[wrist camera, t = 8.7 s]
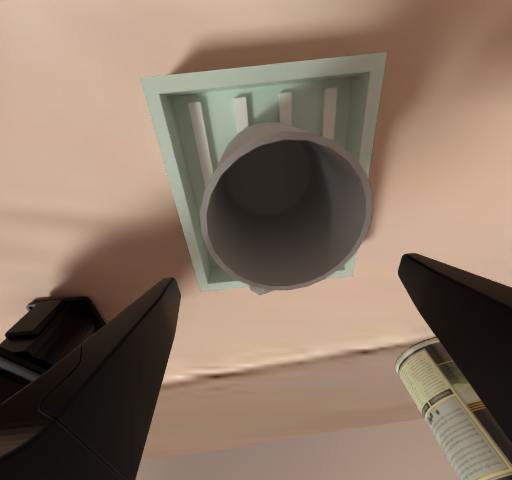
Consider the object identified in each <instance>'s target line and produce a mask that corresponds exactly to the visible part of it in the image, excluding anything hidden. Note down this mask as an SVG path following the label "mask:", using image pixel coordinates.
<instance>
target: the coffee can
mask: <svg viewBox="0 0 512 480" xmlns="http://www.w3.org/2000/svg"><path fill="white" fill-rule="evenodd" d="M395 368H396V372H397V374H398V375H399V376H400V378H401V379H402V381H403V383H404V384H405V386H406V388H407V390H408V391H409V393H410V395H411V396H412V398H413V400H414V402H415V403H416V405H417V407H418V408H419V410H420V412H421V414H422V415H423V417H424V419H425V421H426V422H427V424H428V426H429V427H430V429H431V431H432V433H433V434H434V436H435V438H436V439H437V441H438V443H439V445H440V446H441V448H442V450H443V451H444V453H445V455H446V457H447V458H448V460H449V462H450V463H451V465H452V467H453V469H454V470H455V472H456V474H457V475H458V477H459V479H460V480H512V444H511V442H510V441H509V440H508V438H507V437H506V435H505V434H504V432H503V431H502V430H501V428H500V427H499V425H498V424H497V423H496V421H495V420H494V418H493V417H492V415H491V414H490V413H489V411H488V410H487V408H486V407H485V405H484V404H483V403H482V401H481V400H480V398H479V397H478V395H477V394H476V393H475V391H474V390H473V388H472V387H471V385H470V384H469V383H468V381H467V380H466V378H465V377H464V375H463V374H462V373H461V371H460V370H459V368H458V367H457V366H456V364H455V363H454V361H453V360H452V358H451V357H450V356H449V354H448V353H447V351H446V350H445V348H444V347H443V346H442V344H441V343H440V341H439V340H438V338H432V339H428V340H425V341H423V342H420V343H418V344H416V345H414V346H412V347H411V348H409V349H408V350H406V351H405V352H404V353H403V354H402V355H401V356H400V357H399V358H398V360H397V363H396V366H395Z"/></svg>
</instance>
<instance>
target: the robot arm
mask: <svg viewBox="0 0 512 480" xmlns="http://www.w3.org/2000/svg"><path fill="white" fill-rule="evenodd" d="M398 275H399V278H400V280H401V281H402V283H403V285H404V287H405V288H406V290H407V292H408V294H409V296H410V297H411V299H412V301H413V303H414V305H415V306H416V308H417V310H418V311H419V313H420V314H421V316H422V317H423V319H424V320H425V321H426V323H427V324H428V326H429V327H430V328H431V330H432V331H433V333H434V334H435V336H436V337H437V338H438V340H439V341H440V343H441V344H442V346H443V347H444V348H445V350H446V351H447V353H448V354H449V356H450V357H451V358H452V360H453V361H454V363H455V364H456V366H457V367H458V368H459V370H460V371H461V373H462V374H463V375H464V377H465V378H466V380H467V381H468V383H469V384H470V385H471V387H472V388H473V390H474V391H475V393H476V394H477V395H478V397H479V398H480V400H481V401H482V403H483V404H484V405H485V407H486V408H487V410H488V411H489V413H490V414H491V415H492V417H493V418H494V420H495V421H496V423H497V424H498V425H499V427H500V428H501V430H502V431H503V432H504V434H505V435H506V437H507V438H508V440H509V441H510V442H511V444H512V287H509V286H506V285H503V284H500V283H498V282H495V281H492V280H489V279H486V278H484V277H481V276H478V275H475V274H473V273H470V272H467V271H464V270H461V269H459V268H456V267H453V266H450V265H447V264H445V263H442V262H439V261H436V260H433V259H431V258H428V257H425V256H422V255H419V254H417V253H409V254H404V255H403V256H402V258H401V262H400V266H399V269H398ZM180 300H181V294H180V291H179V288H178V285H177V282H176V280H175V278H173V277H172V278H164V279H162V280H161V281H160V282H158V283H157V284H156V285H155V286H153V287H152V288H151V289H150V290H148V291H147V292H146V293H145V294H143V295H142V296H141V297H140V298H138V299H137V300H136V301H135V302H133V303H132V304H131V305H130V306H128V307H127V308H126V309H125V310H123V311H122V312H121V313H120V314H118V315H117V316H116V317H115V318H113V319H112V320H111V321H110V322H108V323H107V324H106V325H105V323H104V321H103V320H102V318H101V317H100V315H99V313H98V312H97V310H96V308H95V307H94V305H93V304H92V302H91V300H90V299H89V298H87V297H78V298H68V299H58V300H48V301H38V302H31V303H29V304H28V305H27V306H26V308H27V309H28V311H29V312H28V313H27V314H26V315H25V316H24V317H22V318H21V319H20V320H19V321H18V322H17V323H16V324H15V325H14V326H13V327H12V328H11V329H10V330H8V331H7V332H6V334H5V337H6V339H5V340H4V341H3V342H2V343H1V344H0V480H135V479H136V476H137V472H138V468H139V464H140V461H141V457H142V454H143V450H144V446H145V443H146V439H147V435H148V432H149V428H150V424H151V421H152V417H153V414H154V410H155V406H156V403H157V399H158V395H159V392H160V388H161V384H162V381H163V377H164V373H165V370H166V366H167V362H168V359H169V355H170V351H171V348H172V344H173V340H174V336H175V332H176V326H177V319H178V313H179V306H180Z"/></svg>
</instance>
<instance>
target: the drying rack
mask: <svg viewBox="0 0 512 480" xmlns="http://www.w3.org/2000/svg"><path fill="white" fill-rule="evenodd" d="M386 58H387V52H380V53H371V54H362V55H352V56H343V57H333V58H324V59H315V60H305V61H296V62H286V63H277V64H267V65H258V66H249V67H239V68H230V69H220V70H211V71H202V72H192V73H183V74H173V75H164V76H154V77H145V78H140V80H141V84H142V87H143V91H144V94H145V98H146V101H147V105H148V108H149V112H150V115H151V119H152V123H153V126H154V130H155V133H156V137H157V140H158V144H159V147H160V151H161V154H162V158H163V161H164V165H165V168H166V172H167V176H168V179H169V183H170V186H171V190H172V193H173V197H174V200H175V204H176V207H177V211H178V214H179V218H180V222H181V225H182V229H183V232H184V236H185V239H186V243H187V246H188V250H189V253H190V257H191V260H192V264H193V268H194V271H195V275H196V278H197V282H198V285H199V289H200V292H203V291H213V290H223V289H233V288H243V287H250V286H249V285H247V284H245V283H243V282H241V281H238V280H236V279H234V278H233V277H232V276H230V275H229V274H228V273H227V272H225V271H224V270H223V269H221V268H220V267H219V265H218V264H217V263H216V261H215V260H214V259H213V257H212V256H211V255H210V254H209V252H208V249H207V247H206V244H205V242H204V239H203V237H202V233H201V222H200V210H201V205H202V200H203V195H204V191H205V189H206V187H207V185H208V183H209V181H210V179H211V177H212V175H213V173H214V171H215V169H216V167H217V165H218V163H219V161H220V159H221V157H222V155H223V153H224V151H225V149H226V147H227V145H228V144H229V143H230V142H231V140H232V139H233V138H234V137H235V136H236V135H237V134H238V133H240V132H241V131H243V130H245V129H246V128H248V127H250V126H252V125H256V124H259V123H263V122H278V123H283V124H286V125H289V126H292V127H296V128H299V129H302V130H305V131H308V132H311V133H314V134H317V135H320V136H323V137H325V138H328V139H331V140H334V141H336V142H337V143H338V144H340V145H341V146H342V147H344V148H345V149H346V150H348V151H349V152H350V153H351V154H353V155H354V156H355V157H356V159H357V160H358V162H359V163H360V165H361V167H362V168H363V170H364V171H365V173H366V174H367V177H368V175H369V169H370V162H371V156H372V149H373V143H374V136H375V130H376V123H377V117H378V110H379V104H380V97H381V90H382V84H383V77H384V71H385V64H386ZM356 253H357V252H356ZM356 253H355V254H354V255H353V256H352V257H351V259H350V260H349V261H348V262H347V263H346V264H345V265H344V266H343V267H342V268H341V269H339V270H338V271H336V272H335V273H333V274H332V275H330V276H329V277H327V278H326V279H331V278H341V277H351V276H353V273H354V266H355V260H356Z"/></svg>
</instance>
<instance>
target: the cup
mask: <svg viewBox="0 0 512 480" xmlns="http://www.w3.org/2000/svg"><path fill="white" fill-rule="evenodd" d="M372 202H373V195H372V191H371V188H370V184H369V180H368V177H367V174H366V173H365V171H364V170H363V168H362V167H361V165H360V163H359V162H358V160H357V159H356V157H355V156H354V155H353V154H351V153H350V152H349V151H348V150H346V149H345V148H344V147H342V146H341V145H340V144H338V143H337V142H336V141H334V140H331V139H328V138H325V137H323V136H320V135H317V134H314V133H311V132H308V131H305V130H302V129H299V128H296V127H292V126H289V125H286V124H283V123H278V122H263V123H259V124H256V125H252V126H250V127H248V128H246V129H245V130H243V131H241V132H240V133H238V134H237V135H236V136H235V137H234V138H233V139H232V140H231V142H230V143H229V144H228V145H227V147H226V149H225V151H224V153H223V155H222V157H221V159H220V161H219V163H218V165H217V167H216V169H215V171H214V173H213V175H212V177H211V179H210V181H209V183H208V185H207V187H206V189H205V191H204V195H203V200H202V205H201V210H200V222H201V233H202V237H203V239H204V242H205V244H206V247H207V249H208V252H209V254H210V255H211V256H212V257H213V259H214V260H215V261H216V263H217V264H218V265H219V267H220V268H221V269H223V270H224V271H225V272H227V273H228V274H229V275H230V276H232V277H233V278H234V279H236V280H238V281H241V282H243V283H245V284H247V285H249V286H250V289H251V291H253V292H255V293H257V294H258V295H262V294H265V293H268V292H271V291H273V290H292V289H297V288H302V287H307V286H309V285H312V284H314V283H316V282H319V281H321V280H324V279H326V278H327V277H329V276H330V275H332V274H333V273H335V272H336V271H338V270H339V269H341V268H342V267H343V266H344V265H345V264H346V263H347V262H348V261H349V260H350V259H351V257H352V256H353V255H354V254H355V253H356V252H357V250H358V248H359V247H360V245H361V243H362V242H363V240H364V239H365V237H366V234H367V231H368V228H369V225H370V221H371V218H372Z"/></svg>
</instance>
